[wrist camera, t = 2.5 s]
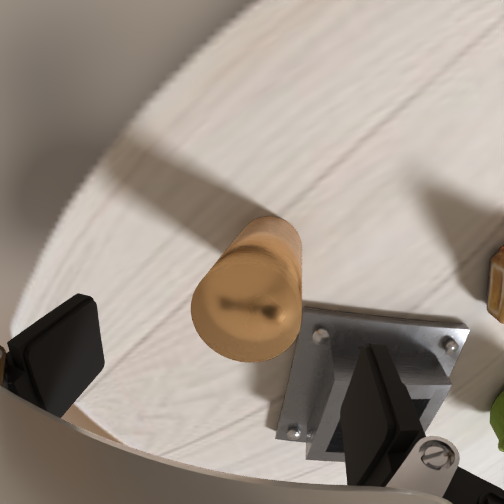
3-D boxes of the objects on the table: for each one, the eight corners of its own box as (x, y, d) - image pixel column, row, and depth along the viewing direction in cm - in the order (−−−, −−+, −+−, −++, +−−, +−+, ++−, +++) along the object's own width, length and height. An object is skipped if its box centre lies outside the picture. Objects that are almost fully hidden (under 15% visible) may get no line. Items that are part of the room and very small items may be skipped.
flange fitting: (303, 306, 22) (303, 344, 18) (465, 323, 21) (491, 356, 16) (276, 431, 27) (270, 471, 22) (408, 438, 25) (417, 473, 20)
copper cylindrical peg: (241, 212, 21) (192, 255, 12) (306, 221, 21) (310, 273, 11) (235, 273, 23) (190, 351, 13) (296, 282, 22) (291, 369, 13)
